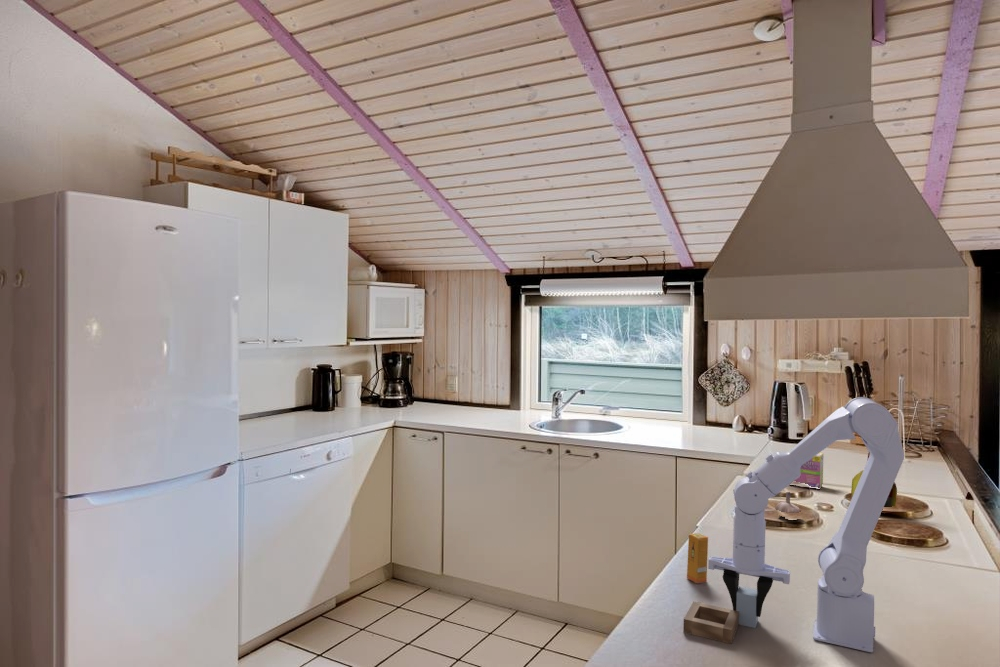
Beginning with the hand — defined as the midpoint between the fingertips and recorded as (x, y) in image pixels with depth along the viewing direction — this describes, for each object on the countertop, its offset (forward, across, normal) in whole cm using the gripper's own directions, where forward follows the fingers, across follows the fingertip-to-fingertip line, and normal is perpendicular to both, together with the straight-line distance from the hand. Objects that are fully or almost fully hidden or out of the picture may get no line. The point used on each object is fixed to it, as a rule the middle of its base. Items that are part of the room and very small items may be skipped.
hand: (747, 612), depth 125 cm
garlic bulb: (+2, -2, -74) cm, 75 cm away
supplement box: (+2, +12, -16) cm, 20 cm away
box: (+2, -4, -118) cm, 118 cm away
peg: (+2, 0, 0) cm, 2 cm away
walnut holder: (+2, +6, +6) cm, 8 cm away
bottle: (+2, -24, -96) cm, 98 cm away
